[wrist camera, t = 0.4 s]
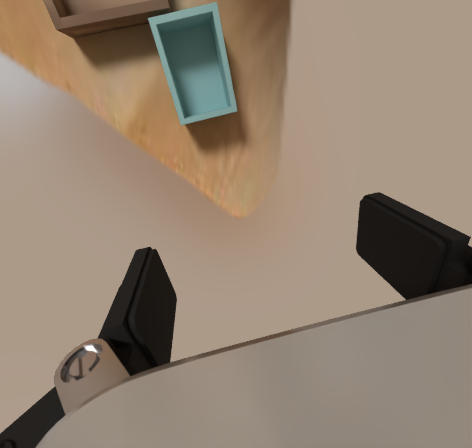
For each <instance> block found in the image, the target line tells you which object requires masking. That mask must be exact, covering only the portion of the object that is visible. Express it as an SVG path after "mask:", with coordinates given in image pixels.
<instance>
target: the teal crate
mask: <svg viewBox="0 0 472 448" xmlns="http://www.w3.org/2000/svg"><path fill="white" fill-rule="evenodd" d="M148 20H149V24H150V27H151V30H152V33H153V36H154V40H155V43H156V46H157V49H158V53H159V56H160V59H161V62H162V66H163V69H164V72H165V75H166V78H167V82H168V85H169V88H170V91H171V95H172V98H173V101H174V104H175V108H176V111H177V114H178V117H179V120H180V124H181V125H184V124H188V123H192V122H196V121H200V120H204V119H208V118H212V117H216V116H220V115H224V114H228V113H232V112H236V111H237V106H236V101H235V96H234V90H233V85H232V80H231V75H230V69H229V64H228V59H227V54H226V48H225V43H224V38H223V33H222V27H221V22H220V17H219V12H218V6H217V2H214V3H210V4H206V5H202V6H197V7H193V8H189V9H185V10H180V11H176V12H172V13H168V14H164V15H159V16H155V17H151V18H148Z"/></svg>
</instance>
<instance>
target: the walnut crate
mask: <svg viewBox="0 0 472 448" xmlns="http://www.w3.org/2000/svg"><path fill="white" fill-rule="evenodd" d="M43 1H44V3H45V6H46V8H47V10H48V12H49V15H50V17H51V19H52V21H53V24H54V26H55V28H56V30H58V31H60V32H62V33H64V34H66V35H68V36H70V37H72V38H74V37H80V36H85V35H90V34H95V33H100V32H105V31H110V30H115V29H120V28H125V27H130V26H135V25H140V24H145V23H149V20H148V18H151V17H155V16H159V15H164V14H168V13H171V9H170V5H169V1H168V0H43Z"/></svg>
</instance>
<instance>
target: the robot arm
mask: <svg viewBox="0 0 472 448" xmlns="http://www.w3.org/2000/svg"><path fill="white" fill-rule="evenodd" d="M470 238H471V237H469V236H467V235H465V234H463V233H461V232H459V231H457V230H455V229H453V228H451V227H449V226H447V225H445V224H443V223H441V222H439V221H437V220H435V219H433V218H431V217H429V216H427V215H424V214H423V213H421V212H418V211H416V210H414V209H412V208H410V207H408V206H406V205H404V204H402V203H400V202H398V201H396V200H394V199H392V198H390V197H388V196H386V195H384V194H382V193H379V192H378V193H373V194H369V195H365V196H364V197H363V199H362V200H361V201H360V208H359V220H358V231H357V244H356V250H357V253H358V254H359V256H361V258H362V259H364V260H365V261H366V262H367V263H368V264H369V265H370V266H371V267H372V268H373V269H374V270H375V271H376V272H377V273H378V274H379V275H380V276H382V277H383V278H384V279H385V280H386V281H387V282H388V283H389V284H390V285H391V286H392V287H393V288H394V289H395V290H396V291H397V292H399V293H400V294H401V295H402V296H403V297H404V298H405V299H406V300H405V301H401V302H397V303H393V304H389V305H385V306H381V307H377V308H373V309H369V310H365V311H361V312H357V313H353V314H350V315H346V316H342V317H339V318H334V319H330V320H326V321H323V322H319V323H315V324H311V325H307V326H304V327H300V328H296V329H292V330H288V331H284V332H281V333H277V334H273V335H269V336H265V337H262V338H258V339H254V340H250V341H247V342H243V343H239V344H235V345H232V346H228V347H224V348H220V349H217V350H213V351H209V352H206V353H202V354H199V355H196V356H192V357H188V358H184V359H181V360H178V361H174V362H170V358H171V349H172V340H173V330H174V321H175V312H176V311H175V310H176V302H177V298H176V294H175V291H174V289H173V286H172V284H171V282H170V279H169V277H168V275H167V272H166V270H165V268H164V265H163V263H162V261H161V259H160V256H159V254H158V252H157V250H156V249H153V250H152V248H151V247H147V248H143V249H138V250H136V251H135V254H134V256H133V259H132V261H131V263H130V266H129V268H128V271H127V273H126V275H125V278H124V280H123V282H122V285H121V286H120V287H119V289H118V292H117V294H116V296H115V299H114V301H113V304H112V306H111V308H110V311H109V313H108V315H107V318H106V320H105V322H104V325H103V327H102V329H101V332H100V334H99V336H98V339H92V340H89V341H86V342H84V343H82V344H80V345H79V346H77V347H76V348H74V349H73V350H72V351H71V352H70V353H69V354H67V356H66V357H65V358H64V359H63V360H62V361H61V363H60V364H59V366H58V368H57V370H56V372H55V376H54V384H55V387H54V388H53V389H51V391H49V392H48V393H47V394H46V395H45V396H43V397H42V398H41V399H40V400H39V401H38V402H36V404H34V405H33V406H32V407H31V408H30V409H28V410H27V411H26V412H25V413H24V414H23V415H21V416H20V417H19V418H18V419H17V420H16V421H14V422H13V423H12V424H11V425H10V426H9V427H8V428H6V429H5V430H4V431H3V432H2V433H1V434H0V448H472V247H470V246H468V243H469V240H470Z"/></svg>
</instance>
